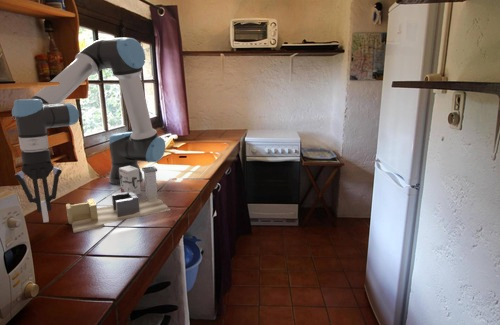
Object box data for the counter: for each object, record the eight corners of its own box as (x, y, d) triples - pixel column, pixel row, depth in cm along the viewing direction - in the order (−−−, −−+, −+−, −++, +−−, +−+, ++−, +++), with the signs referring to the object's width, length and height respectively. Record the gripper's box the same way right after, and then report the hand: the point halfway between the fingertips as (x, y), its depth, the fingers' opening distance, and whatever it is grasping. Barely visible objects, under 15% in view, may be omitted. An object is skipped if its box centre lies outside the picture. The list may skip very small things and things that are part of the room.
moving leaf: (67, 217, 118) (65, 202, 116) (94, 212, 122) (93, 198, 121) (69, 225, 111) (67, 210, 110) (98, 219, 116) (96, 204, 114)
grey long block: (144, 199, 135) (141, 167, 132) (156, 197, 138) (153, 166, 134) (147, 202, 131) (145, 170, 128) (159, 200, 134) (157, 168, 131)
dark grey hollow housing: (113, 208, 126) (111, 194, 125) (134, 204, 130) (132, 190, 129) (118, 217, 118) (116, 202, 117) (140, 212, 122) (139, 198, 121)
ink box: (120, 194, 145) (117, 167, 142) (131, 191, 148) (128, 165, 146) (130, 198, 139) (128, 171, 136) (141, 195, 143) (139, 168, 140)
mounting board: (69, 216, 122) (69, 213, 122) (158, 199, 138) (157, 197, 138) (73, 232, 109) (73, 229, 108) (171, 212, 125) (170, 209, 124)
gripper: (8, 154, 99) (21, 229, 104) (59, 149, 105) (69, 220, 111) (10, 149, 105) (22, 220, 111) (58, 145, 112) (67, 212, 117)
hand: (46, 220), depth 111 cm, fingers closed
